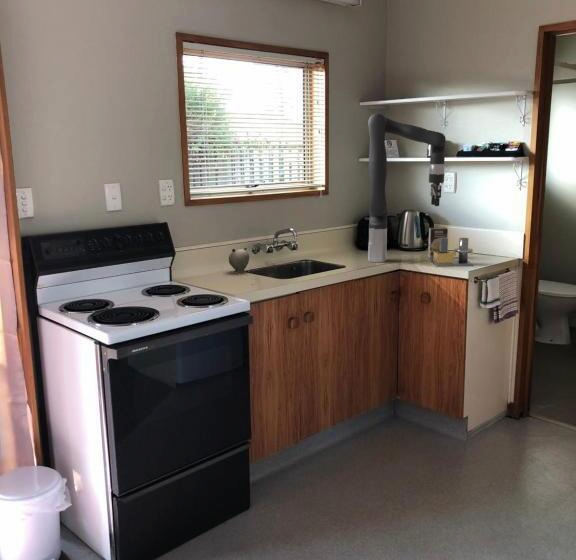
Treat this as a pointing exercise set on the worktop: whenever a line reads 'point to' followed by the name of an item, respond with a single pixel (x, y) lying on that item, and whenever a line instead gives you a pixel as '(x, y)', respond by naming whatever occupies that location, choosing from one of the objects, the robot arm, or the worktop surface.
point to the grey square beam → (443, 245)
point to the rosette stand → (447, 258)
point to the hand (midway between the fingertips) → (435, 205)
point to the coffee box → (435, 240)
